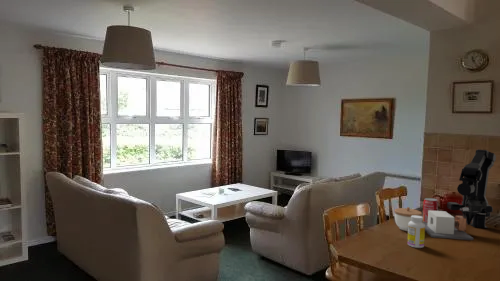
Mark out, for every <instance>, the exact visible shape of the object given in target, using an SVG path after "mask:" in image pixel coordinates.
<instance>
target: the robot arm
mask: <svg viewBox="0 0 500 281" xmlns="http://www.w3.org/2000/svg"><path fill="white" fill-rule="evenodd" d="M496 159H497V155H496V153H494V152H491V151H489V150H487V149H476V150H475V154H474V156H473V157H472V159H471V161H470V162H469V163H467V164H465V166H463V168H462V169H461V172H460V176H459V179H458V180H459V181H460V182H461V183H459V184H458V186H457V188H456V190H457V192H458V194H459V195H460V196H462V201H461V204H460V203H458V202H454V201H447V203H446V208H447V209H449V210H450V211H460V212H461V213H462V216H463V217H464V218H466V225H468V226H469V225H470V226H472V227H473V228H479V229H489V227H488V226H486V218H490V217H491V213H493V212H494V208H493V206H492V205H490V204H489V202H488V198H487V197H486V194H487V188H488V180H489V173H490V169H492V168H493V167H494V165H495V162H496Z"/></svg>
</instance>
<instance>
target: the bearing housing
mask: <svg viewBox="0 0 500 281" xmlns="http://www.w3.org/2000/svg"><path fill="white" fill-rule="evenodd" d="M432 219H433V224H432ZM454 220H455V216H453V215H451V214H450V213H448V212H447V211H444V210H438V211H431V210H428V223H427V224H425V223H424V224H425V233H427V234H428V236H430V237H431V238H435V239H436V238H437V239H449V240H450V239H452V240H454V239H455V240H465V241H474V237H472V236H471V235H470V234H469V233H467V232H466V231H459V230H457V229H456V228H455V226H454Z"/></svg>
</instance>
